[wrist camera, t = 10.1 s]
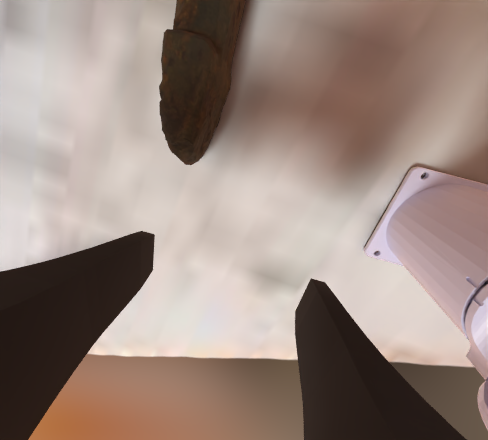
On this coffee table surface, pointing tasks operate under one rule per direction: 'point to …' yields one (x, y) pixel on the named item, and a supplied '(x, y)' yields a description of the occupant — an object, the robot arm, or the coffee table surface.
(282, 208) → the coffee table surface
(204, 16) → the hand tool
